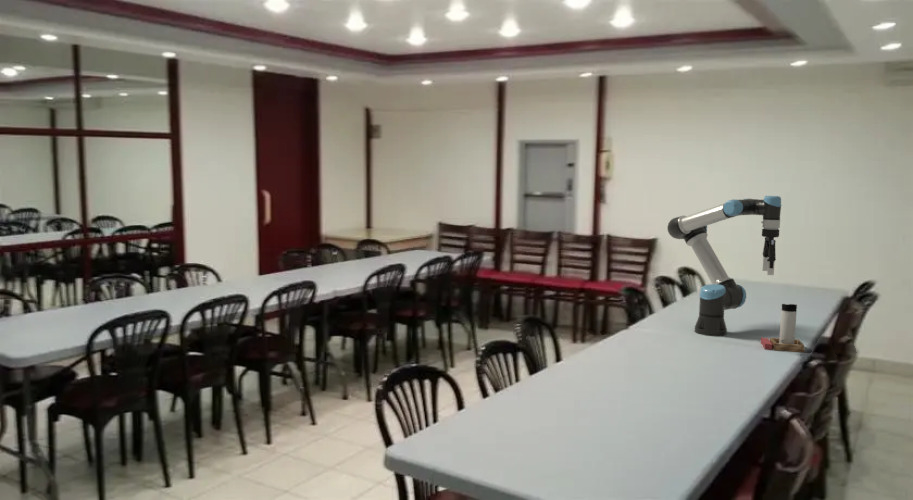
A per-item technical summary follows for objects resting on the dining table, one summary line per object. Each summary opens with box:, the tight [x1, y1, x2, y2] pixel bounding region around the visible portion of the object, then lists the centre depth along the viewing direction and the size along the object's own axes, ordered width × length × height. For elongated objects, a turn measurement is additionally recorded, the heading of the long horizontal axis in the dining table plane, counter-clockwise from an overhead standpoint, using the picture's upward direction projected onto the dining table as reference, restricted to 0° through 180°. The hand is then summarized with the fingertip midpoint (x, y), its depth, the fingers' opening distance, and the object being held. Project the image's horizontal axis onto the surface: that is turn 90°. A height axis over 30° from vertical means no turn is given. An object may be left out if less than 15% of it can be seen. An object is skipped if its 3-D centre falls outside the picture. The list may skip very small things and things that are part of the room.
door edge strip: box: [760, 337, 773, 351], centre depth 327 cm, size 3×12×2 cm, turn 165°
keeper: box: [769, 337, 806, 353], centre depth 325 cm, size 13×13×3 cm
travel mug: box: [778, 303, 798, 344], centre depth 323 cm, size 6×7×20 cm
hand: (767, 272), depth 340 cm, fingers open, 13 cm apart
